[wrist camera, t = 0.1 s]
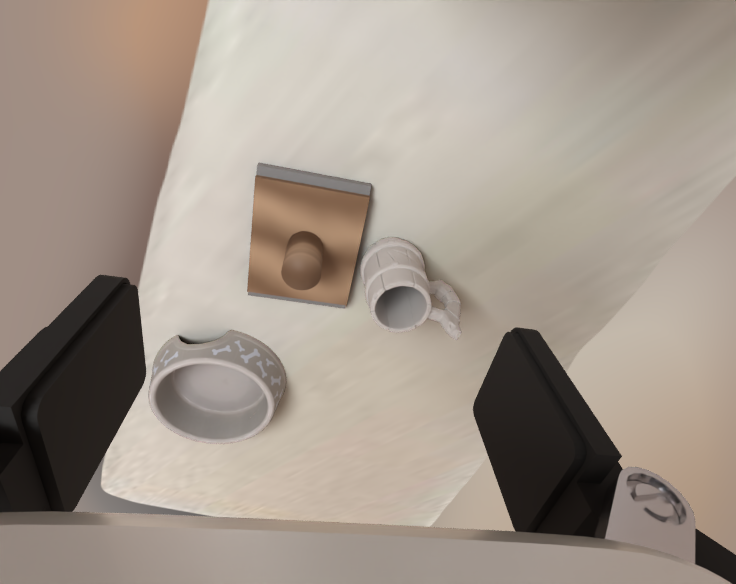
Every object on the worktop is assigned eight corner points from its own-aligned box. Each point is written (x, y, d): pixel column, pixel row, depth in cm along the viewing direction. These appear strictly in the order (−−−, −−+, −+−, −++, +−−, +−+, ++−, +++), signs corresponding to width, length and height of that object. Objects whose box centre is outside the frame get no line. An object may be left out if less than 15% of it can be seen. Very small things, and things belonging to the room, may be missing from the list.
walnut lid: (256, 174, 44) (244, 196, 38) (369, 195, 46) (373, 219, 40) (248, 288, 51) (237, 321, 45) (346, 301, 53) (347, 335, 47)
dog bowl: (296, 412, 65) (293, 441, 60) (176, 424, 64) (164, 455, 60) (273, 322, 55) (267, 348, 51) (134, 337, 55) (116, 364, 51)
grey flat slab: (258, 162, 44) (257, 165, 43) (370, 183, 46) (371, 186, 45) (249, 290, 52) (248, 295, 51) (344, 304, 54) (344, 308, 53)
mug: (372, 225, 49) (381, 277, 38) (462, 255, 51) (493, 311, 41) (350, 279, 52) (353, 340, 42) (435, 305, 55) (457, 367, 45)
